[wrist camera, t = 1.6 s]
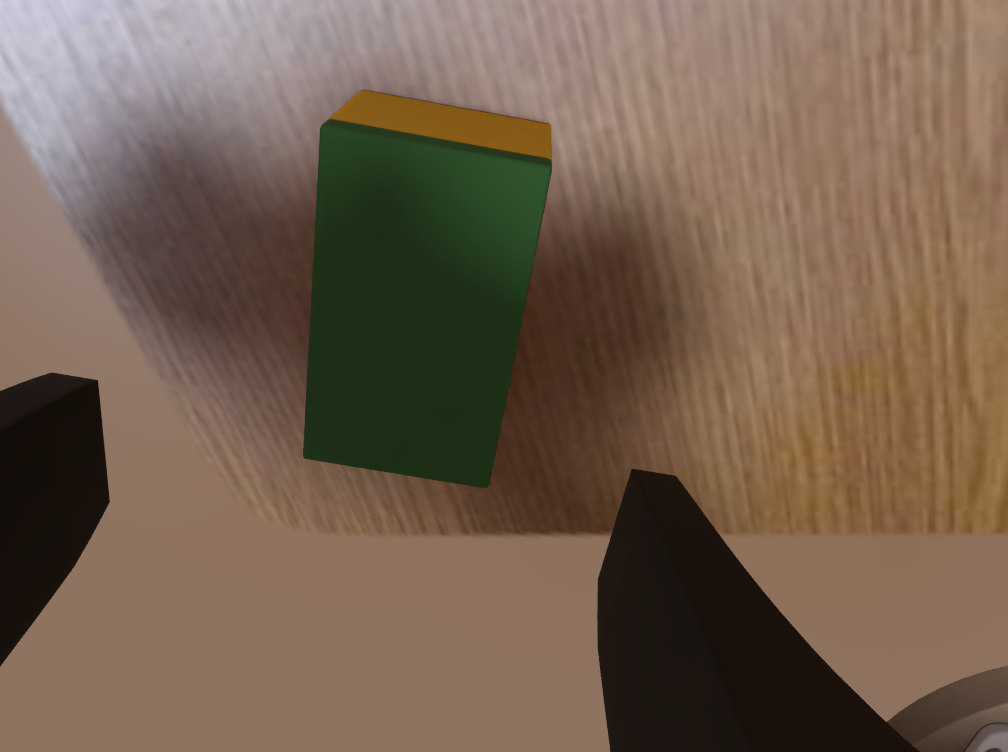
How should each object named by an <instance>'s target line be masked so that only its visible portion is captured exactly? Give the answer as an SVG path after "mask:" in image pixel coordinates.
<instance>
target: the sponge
mask: <svg viewBox="0 0 1008 752" xmlns="http://www.w3.org/2000/svg"><path fill="white" fill-rule="evenodd" d="M551 172H552V147H551V125H549V124H545V123H540V122H534V121H529V120H523V119H518V118H512V117H507V116H502V115H496V114H491V113H485V112H480V111H474V110H469V109H463V108H458V107H453V106H447V105H442V104H436V103H431V102H425V101H420V100H414V99H409V98H403V97H398V96H393V95H387V94H382V93H376V92H371V91H365V90H362V91H361V92H359V93H358V94H357V95H356V96H355V97H354V98H352V99H351V100H350V101H349V102H348V103H346V104H345V105H344V106H343V107H342V108H341V109H339V110H338V111H337V112H336V113H335V114H333V115H332V116H331V117H330V118H329V120H327V121H326V122H325V123H324V124H323V125H322V126H321V128H320V144H319V163H318V182H317V201H316V220H315V239H314V258H313V276H312V295H311V314H310V333H309V352H308V371H307V390H306V409H305V428H304V447H303V457H304V458H305V459H310V460H316V461H322V462H328V463H334V464H340V465H347V466H353V467H359V468H365V469H371V470H377V471H383V472H389V473H396V474H402V475H408V476H414V477H420V478H426V479H432V480H438V481H445V482H451V483H457V484H463V485H469V486H475V487H481V488H488V486H489V484H490V479H491V474H492V469H493V464H494V459H495V454H496V449H497V444H498V439H499V434H500V429H501V424H502V419H503V414H504V409H505V404H506V399H507V394H508V389H509V383H510V378H511V373H512V368H513V363H514V358H515V353H516V348H517V343H518V338H519V333H520V328H521V323H522V318H523V313H524V308H525V303H526V298H527V293H528V288H529V283H530V278H531V273H532V268H533V263H534V258H535V253H536V248H537V243H538V238H539V233H540V228H541V223H542V218H543V213H544V207H545V202H546V197H547V192H548V187H549V182H550V177H551Z"/></svg>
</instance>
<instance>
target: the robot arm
mask: <svg viewBox="0 0 1008 752" xmlns="http://www.w3.org/2000/svg"><path fill="white" fill-rule="evenodd" d="M105 460H106V459H105V448H104V438H103V428H102V417H101V407H100V397H99V387H98V380H93V379H87V378H81V377H75V376H69V375H63V374H57V373H49V374H46V375H42V376H40V377H37V378H34V379H31V380H28V381H25V382H23V383H20V384H17V385H15V386H12V387H9V388H7V389H4V390H2V391H0V666H1V665H2V663H3V662H4V661H5V659H6V658H7V657H8V655H9V654H10V653H11V651H12V650H13V649H14V647H15V646H16V645H17V643H18V642H19V641H20V639H21V638H22V637H23V635H24V634H25V633H26V631H27V630H28V629H29V627H30V626H31V625H32V623H33V622H34V621H35V619H36V618H37V617H38V615H39V614H40V613H41V611H42V610H43V608H44V607H45V606H46V604H47V603H48V602H49V600H50V599H51V598H52V596H53V595H54V594H55V592H56V591H57V590H58V588H59V587H60V586H61V584H62V583H63V581H64V580H65V578H66V577H67V576H68V574H69V573H70V572H71V570H72V569H73V568H74V566H75V564H76V563H77V561H78V559H79V557H80V556H81V554H82V552H83V550H84V549H85V547H86V545H87V544H88V542H89V540H90V538H91V536H92V534H93V533H94V531H95V529H96V527H97V525H98V523H99V521H100V519H101V518H102V516H103V514H104V512H105V510H106V508H107V506H108V504H109V502H110V500H109V490H108V479H107V469H106V461H105ZM597 615H598V617H597V620H598V654H599V663H600V671H601V678H602V688H603V696H604V704H605V712H606V720H607V728H608V736H609V743H610V752H919V751H918V750H917V749H916V748H914V747H913V746H912V745H911V744H910V743H909V742H907V741H906V740H905V739H904V738H903V737H902V736H901V735H900V734H899V733H898V732H896V731H895V730H894V729H893V728H892V727H891V726H890V725H889V724H888V723H887V722H886V721H884V720H883V719H882V718H881V717H880V716H879V715H878V714H877V713H876V712H875V711H874V710H873V709H872V708H871V707H870V706H869V705H868V704H867V703H866V702H865V701H864V700H863V699H862V698H861V697H860V696H859V695H858V694H857V693H856V692H855V691H854V690H853V689H851V687H850V686H848V684H846V683H845V682H844V681H843V680H842V679H841V678H840V677H839V676H838V675H837V674H836V673H835V672H834V671H833V670H832V669H831V667H830V666H829V665H828V664H827V663H826V662H825V661H824V660H823V659H822V658H821V657H820V656H819V655H818V654H817V653H816V652H815V651H814V649H813V648H812V647H811V646H810V645H809V644H808V643H807V642H806V641H805V639H804V638H803V637H802V636H801V635H800V634H799V633H798V631H796V629H795V628H794V627H793V626H792V625H791V624H790V622H789V621H788V620H787V619H786V618H785V617H784V616H783V614H782V613H781V612H780V611H779V610H778V609H777V607H776V606H775V605H774V604H773V603H772V602H771V600H770V599H769V598H768V597H767V595H766V594H765V593H764V592H763V591H762V589H761V588H760V587H759V586H758V584H757V583H756V582H755V581H754V579H753V578H752V577H751V576H750V575H749V573H748V572H747V571H746V569H745V568H744V567H743V565H742V564H741V563H740V562H739V560H738V559H737V558H736V556H735V555H734V554H733V552H732V551H731V550H730V549H729V547H728V546H727V545H726V543H725V542H724V541H723V539H722V538H721V536H720V535H719V534H718V532H717V531H716V530H715V528H714V527H713V526H712V524H711V523H710V522H709V520H708V519H707V517H706V516H705V515H704V513H703V512H702V511H701V509H700V508H699V506H698V505H697V504H696V502H695V501H694V500H693V498H692V497H691V495H690V494H689V493H688V491H687V490H686V489H685V487H684V486H683V485H682V483H681V482H680V481H679V479H678V478H677V477H676V476H673V475H667V474H661V473H655V472H649V471H643V470H637V469H632V470H631V473H630V476H629V480H628V483H627V486H626V489H625V493H624V496H623V499H622V502H621V506H620V509H619V512H618V515H617V519H616V522H615V525H614V529H613V532H612V535H611V538H610V542H609V545H608V548H607V551H606V555H605V558H604V561H603V564H602V568H601V571H600V574H599V578H598V614H597ZM965 752H1008V724H1002V723H993V724H989V725H987V726H985V727H983V728H982V729H981V730H980V731H979V733H978V734H977V735H976V737H975V738H974V740H973V741H972V742H971V744H970V745H969V747H968V748H967V749H966V751H965Z"/></svg>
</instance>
